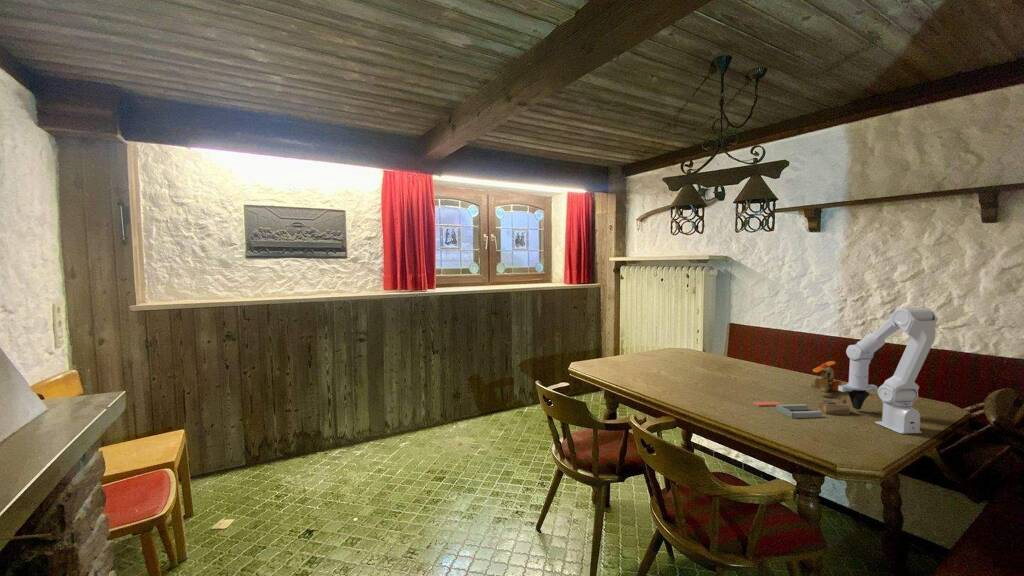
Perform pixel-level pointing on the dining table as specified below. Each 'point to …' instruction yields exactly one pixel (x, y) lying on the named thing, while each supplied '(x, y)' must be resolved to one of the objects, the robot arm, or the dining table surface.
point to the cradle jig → (802, 414)
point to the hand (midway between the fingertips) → (856, 408)
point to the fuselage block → (834, 407)
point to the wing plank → (767, 403)
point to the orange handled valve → (825, 378)
